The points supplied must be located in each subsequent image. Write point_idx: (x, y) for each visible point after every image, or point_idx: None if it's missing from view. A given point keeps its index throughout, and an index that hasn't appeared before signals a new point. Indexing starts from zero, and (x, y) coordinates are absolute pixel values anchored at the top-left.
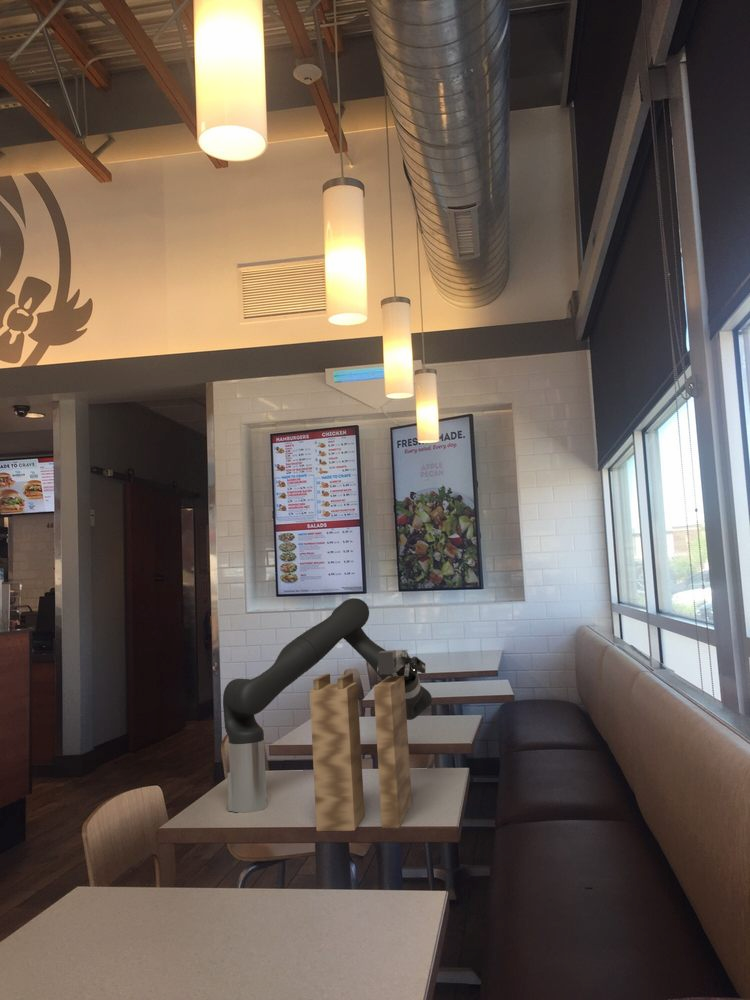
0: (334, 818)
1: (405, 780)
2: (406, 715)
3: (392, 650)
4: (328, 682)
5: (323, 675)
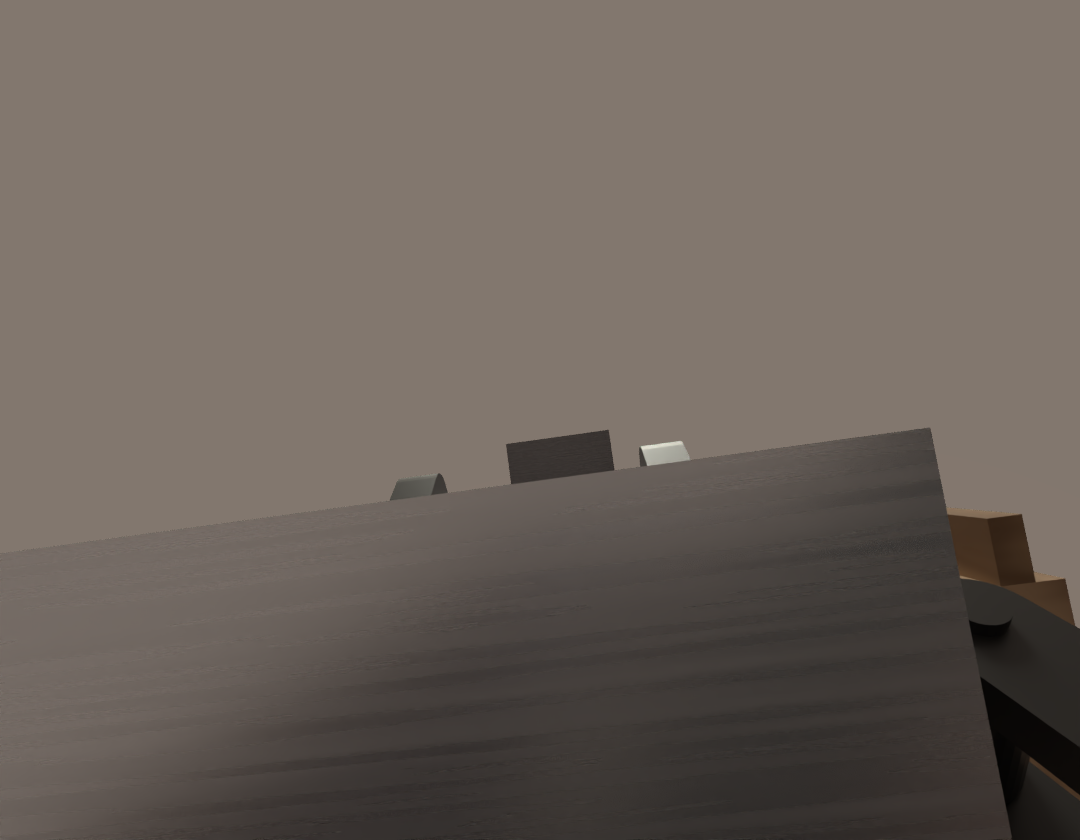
0: None
1: None
2: None
3: (527, 441)
4: (963, 563)
5: (959, 510)
